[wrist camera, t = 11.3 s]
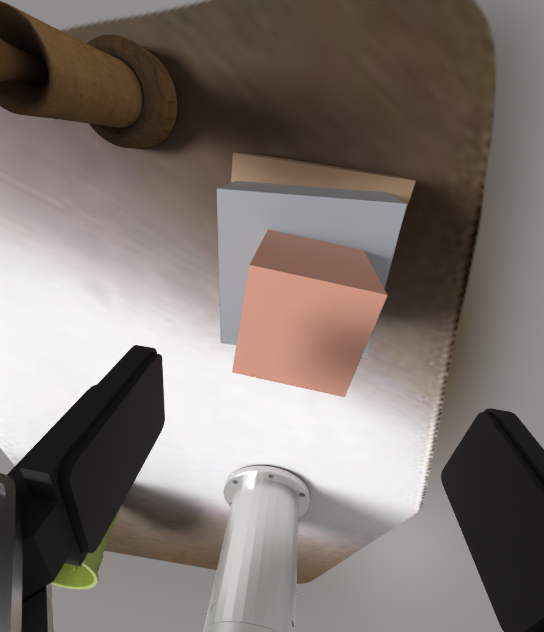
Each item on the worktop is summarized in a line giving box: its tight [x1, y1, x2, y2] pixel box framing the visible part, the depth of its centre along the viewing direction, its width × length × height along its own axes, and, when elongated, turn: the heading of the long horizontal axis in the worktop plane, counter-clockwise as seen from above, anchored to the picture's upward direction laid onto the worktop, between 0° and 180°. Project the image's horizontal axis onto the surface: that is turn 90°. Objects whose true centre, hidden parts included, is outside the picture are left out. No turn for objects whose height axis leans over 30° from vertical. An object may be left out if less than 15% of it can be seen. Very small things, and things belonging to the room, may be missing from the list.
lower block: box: [231, 152, 416, 218], centre depth 25 cm, size 12×12×5 cm
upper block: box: [217, 181, 407, 359], centre depth 21 cm, size 10×10×5 cm
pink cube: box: [232, 230, 387, 397], centre depth 16 cm, size 6×6×6 cm
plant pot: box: [51, 508, 120, 589], centre depth 44 cm, size 12×12×11 cm
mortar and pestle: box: [0, 1, 177, 149], centre depth 15 cm, size 7×6×18 cm
